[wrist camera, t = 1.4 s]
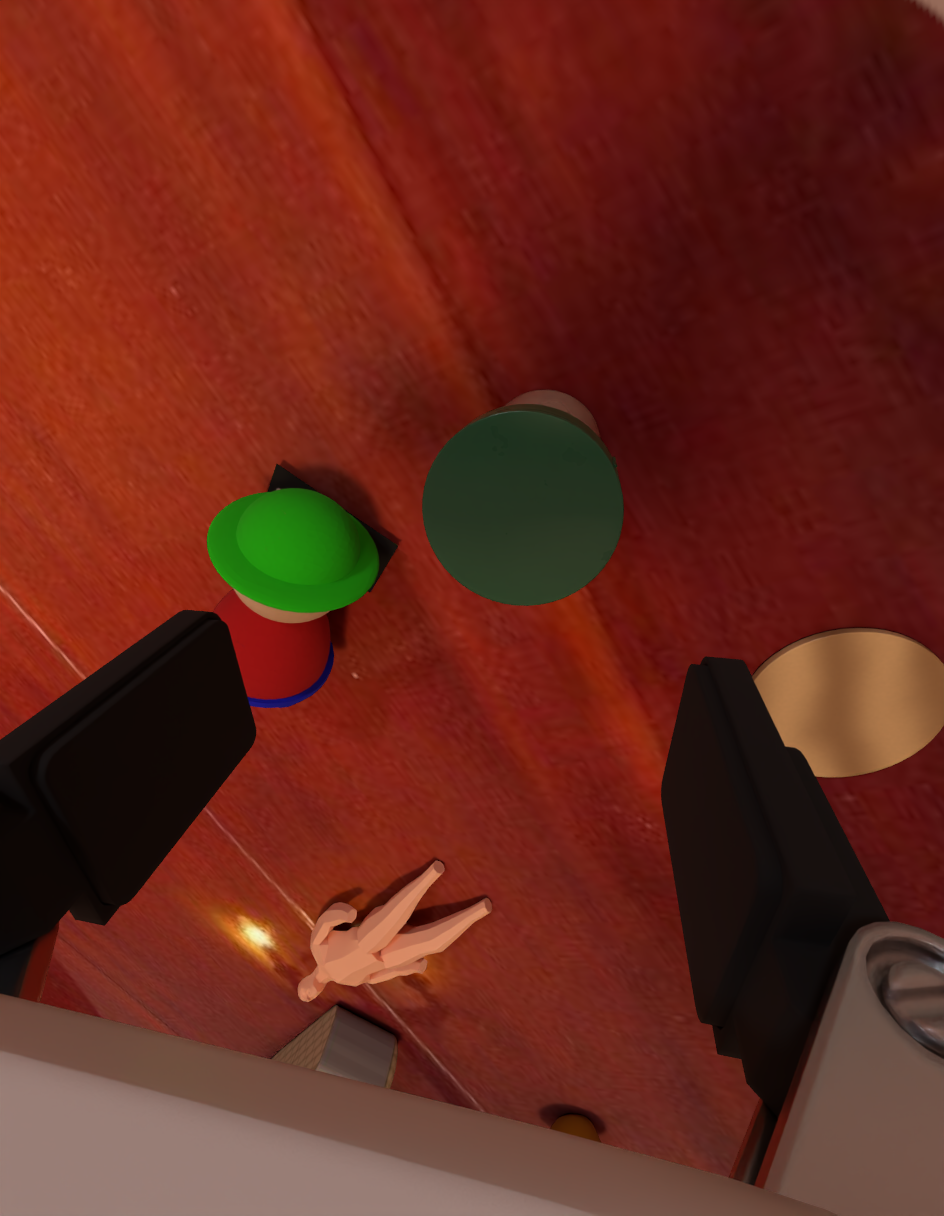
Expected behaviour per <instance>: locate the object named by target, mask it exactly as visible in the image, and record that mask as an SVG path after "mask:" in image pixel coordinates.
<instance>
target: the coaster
mask: <svg viewBox="0 0 944 1216" xmlns="http://www.w3.org/2000/svg"><path fill="white" fill-rule="evenodd" d="M752 678H753V680H754V682H755V684H756V686H757V689H758V691H759V693H760V695H761V697H762V699H763V701H764V703H765V705H766V707H767V709H768V711H769V714H770V716H771V718H772V720H773V722H774V724H775V726H776V728H777V730H778V732H779V734H780V736H781V739H782V741H783V743H784V745H785V747H794V748H796V749H798V750H800V751H801V752H802V754H803V755H804V756H805V758H806V759H807V761H808V763H809V765H810V767H811V769H812V771H813V773H814V775H815V776H818V777H847V776H855V775H861V774H866V773H870V772H874V771H878V770H881V769H884V768H887V767H889V766H892V765H894V764H896V763H899V762H901V761H903V760H905V759H906V758H908V757H910V756H912V755H913V754H915V753H916V752H917V751H919V750H920V749H922V748H923V747H924V746H925V745H927V744H928V743H929V742H930V741H931V740H932V739H933V738H934V737H935V736H936V735H937V733H938V732H939V731H940V730H941V728H942V727H943V725H944V664H943V663H942V662H941V661H940V660H939V659H938V657H937V656H936V655H935V654H934V653H933V652H932V651H930V650H929V649H928V648H926V647H925V646H924V645H922V644H921V643H919V642H917V641H915V640H913V639H912V638H909V637H907V636H904V635H901V634H898V633H894V632H890V631H886V630H880V629H872V628H848V629H839V630H832V631H827V632H823V633H819V634H815V635H812V636H809V637H807V638H804V639H801V640H799V641H797V642H795V643H793V644H791V645H789V646H787V647H785V648H783V649H782V650H780V651H779V652H777V653H776V654H774V655H773V656H772V657H770V658H769V659H768V660H767V661H766V662H765V663H763V664H762V665H761V666H760V667H759V668H758V670H757V671H756V672H755V673H754V675H753V676H752Z"/></svg>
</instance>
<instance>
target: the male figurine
mask: <svg viewBox="0 0 944 1216" xmlns="http://www.w3.org/2000/svg"><path fill="white" fill-rule="evenodd" d="M443 872H444V865H443V864H442V863H441V862H440V861H435V862H434V863H433V864H432V865H431V866H430V867H429V868H428V869H427V870H426V871H425V872H424V873H423V874H422V875H420V876H419V877H418V878H416V879H415V880H413V881H412V882H410V883H409V884H407V885H406V886H405V887H404V888H402V889H401V890H400V891H399V892H398V893H396V894H395V895H394V896H393V897H392V898H391V899H390V900H389V901H388V902H387V903H386V904H385V905H382V906H379V907H375V908H374V909H373V910H372V911H371V912H370V913H369V914H368V915H367V916H366V917H365V918H364V920H363V922H362V923H361V925H360V927H352V928H351V929H349V930H348V931H335V930H333V928H334V926H337V925H339V924H341V923H343V922H349V923H352V922H353V921H354V920H355V919H356V916H357V910H356V909H354V908H353V907H352V906H350V905H349V904H346V903H341V902H338V903H334V904H333V905H331V906H330V907H329V908H328V909H327V910H326V911H325V912H324V913H323V914H322V915H321V916H320V917H319V919H318V921H317V923H316V925H315V927H314V929H313V931H312V933H311V944H310V948H311V951H312V954H313V956H314V958H315V960H316V962H317V964H318V966H317V967H316V969H315V970H314V972H313V973H312V974H311V975H310V976H307V977H305V978H304V979H303V980H302V981H301V982H300V983H299V986H298V994H299V997H300V999H301V1000H302V1001H306V1002H309V1001H311V1000H312V999H314V998H316V996H317V995H319V994H320V993H321V992H322V990H323V989H324V987H325V985H326V983H327V982H329V981H335V982H337V983H339V984H344V985H350V986H357V985H360V984H362V983H365V982H367V983H370V984H375V983H379V982H382V981H386V980H389V979H392V978H394V977H396V976H398V975H409V974H412V973H414V972H417V973H423V972H424V971H425V970H426V967H427V961H426V960H425V959H424V958H423V957H424V956H426V955H428V954H433V953H438V952H442V951H443V950H444V949H446V948H447V947H448V946H449V945H450V944H451V943H452V942H453V941H455V940H456V939H457V938H458V937H459V936H460V935H461V934H462V933H463V932H464V931H465V930H466V929H467V928H468V927H469V926H470V925H472V924H473V923H474V922H475V921H477V920H479V919H480V918H482V917H484V916H485V915H487V914H489V913H490V912H491V910H492V904H491V902H490V900H489V899H488V898H485V899H483V900H481V901H480V902H478V903H476V904H474V905H472V906H471V907H469V908H467V909H464V910H462V911H459V912H457V913H454V914H452V915H449V916H447V917H445V918H442V919H440V920H437V921H435V922H433V923H429V924H426V925H422V926H418V927H415V926H413V925H410V924H405V923H406V922H407V920H408V919H409V918H410V916H411V914H412V913H413V911H414V909H415V907H416V906H417V904H418V902H419V900H420V899H421V897H422V896H423V895H424V893H425V892H426V891H427V889H428V888H429V887H430V886H431V884H432V883H433V882H434V881H435V880H436V879H437V878H438V877H439V876H440V875H441V874H442V873H443Z"/></svg>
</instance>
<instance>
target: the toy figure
mask: <svg viewBox="0 0 944 1216" xmlns="http://www.w3.org/2000/svg"><path fill="white" fill-rule="evenodd" d="M397 547H398V545H396V544H395V543H393V542H392V541H390V540H389V539H387V538H386V537H384V536H383V535H381V534H380V533H378V532H377V531H375V530H374V529H373V528H371V527H370V526H368V525H367V524H365V523H364V522H362V521H361V520H359V519H358V518H356V517H355V516H353V515H352V514H350V513H349V512H347V511H346V510H344V509H343V508H342V507H341V506H340V505H339V504H337V503H336V502H335V501H333V500H332V499H330V498H328V497H327V496H325V495H322V494H321V493H319V492H318V491H316V490H315V489H313V488H312V487H310V486H309V485H308V484H306V483H305V482H303V481H302V480H300V479H299V478H297V477H296V476H294V475H293V474H291V473H290V472H288V471H287V470H285V469H284V468H282V467H281V466H279V465H278V464H276V467H275V470H274V473H273V476H272V480H271V483H270V486H269V489H268V492H265V493H257V494H253V495H249V496H246V497H243V498H240V499H238V500H236V501H234V502H233V503H231V504H229V505H228V506H226V507H225V508H224V509H223V510H221V511H220V512H219V513H218V514H217V516H216V517H215V518H214V520H213V521H212V523H211V525H210V527H209V530H208V535H207V548H208V553H209V556H210V559H211V561H212V563H213V565H214V567H215V569H216V570H217V572H218V573H219V574H220V575H221V577H222V578H223V579H224V580H225V581H226V582H227V583H228V584H229V585H230V586H231V587H233V589H232V590H231V591H230V592H229V593H228V594H227V595H226V596H225V597H224V598H223V599H222V600H221V601H220V602H219V603H218V605H217V606H216V608H215V609H214V611H213V612H214V613H216V614H217V615H218V616H219V617H220V618H221V620H222V621H224V622H225V623H226V624H227V625H228V628H229V631H230V635H231V638H232V642H233V646H234V649H235V653H236V657H237V660H238V664H239V668H240V671H241V675H242V679H243V682H244V686H245V690H246V693H247V697H248V701H249V704H250V706H255V707H263V708H275V707H279V708H282V707H289V706H291V705H294V704H296V703H298V702H301V701H303V700H304V699H306V698H308V697H310V696H312V695H313V694H314V693H315V692H316V691H318V690H319V689H320V688H321V687H322V685H323V684H324V683H325V682H326V680H327V678H328V676H329V674H330V672H331V669H332V666H333V659H334V652H333V646H332V642H331V640H330V626H329V620H328V617H327V614H326V613H328V612H329V611H331V610H336V609H339V608H342V607H345V606H347V605H349V604H351V603H353V602H355V601H356V600H358V599H359V598H361V597H362V596H363V595H364V594H365V593H366V592H367V591H368V592H371V590H372V589H373V587H374V585H375V584H376V582H377V580H378V579H379V577H380V575H381V574H382V572H383V570H384V569H385V567H386V565H387V564H388V562H389V560H390V559H391V557H392V555H393V554H394V552H395V550H396V549H397Z"/></svg>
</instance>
